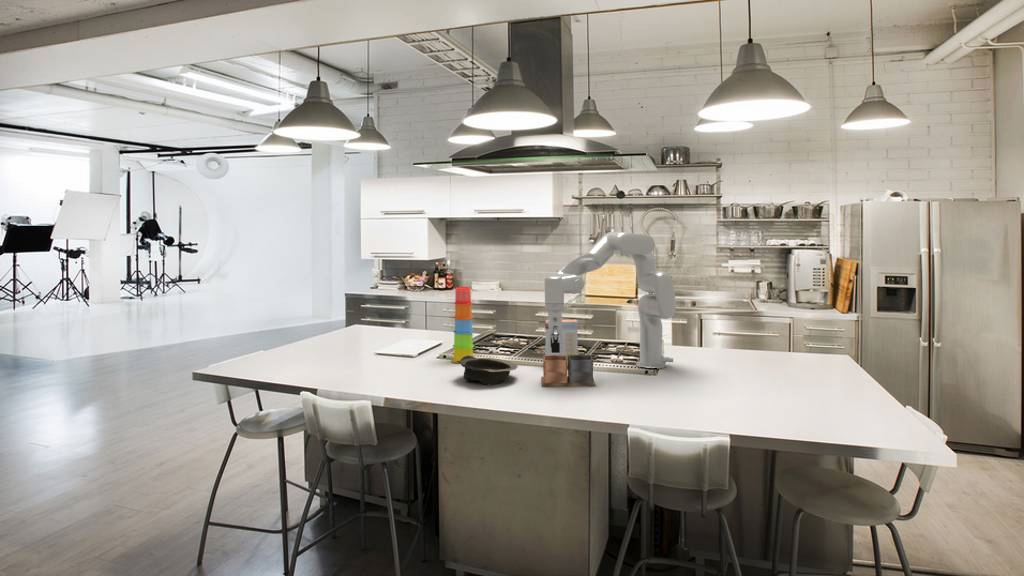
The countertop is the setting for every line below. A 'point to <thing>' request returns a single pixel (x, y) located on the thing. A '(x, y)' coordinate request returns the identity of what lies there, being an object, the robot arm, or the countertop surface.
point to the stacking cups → (463, 324)
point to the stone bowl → (486, 369)
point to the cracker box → (564, 339)
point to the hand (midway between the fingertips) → (555, 349)
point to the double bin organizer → (577, 371)
